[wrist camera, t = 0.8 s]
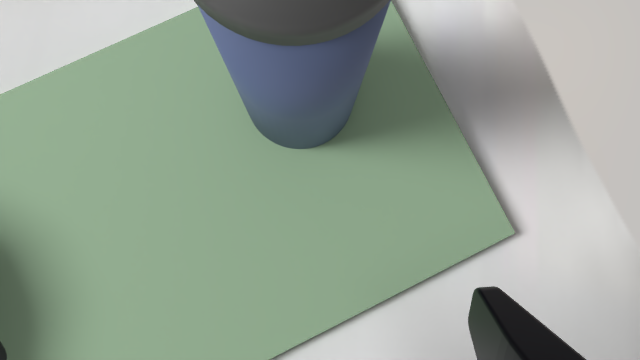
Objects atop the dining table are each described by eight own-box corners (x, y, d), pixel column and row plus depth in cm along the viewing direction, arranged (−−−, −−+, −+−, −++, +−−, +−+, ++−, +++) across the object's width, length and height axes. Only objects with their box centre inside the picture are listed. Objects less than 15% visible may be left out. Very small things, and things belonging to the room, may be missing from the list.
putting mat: (509, 233, 22) (515, 233, 22) (-208, 601, 19) (-224, 613, 19) (355, -57, 24) (356, -64, 23) (-329, 248, 21) (-347, 248, 20)
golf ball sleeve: (375, 121, 22) (471, -44, 9) (273, 170, 22) (224, 69, 9) (325, 24, 22) (350, -263, 10) (224, 70, 22) (110, -165, 9)
